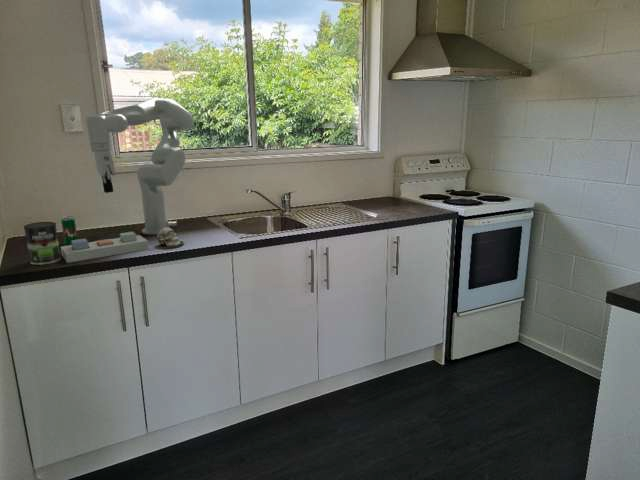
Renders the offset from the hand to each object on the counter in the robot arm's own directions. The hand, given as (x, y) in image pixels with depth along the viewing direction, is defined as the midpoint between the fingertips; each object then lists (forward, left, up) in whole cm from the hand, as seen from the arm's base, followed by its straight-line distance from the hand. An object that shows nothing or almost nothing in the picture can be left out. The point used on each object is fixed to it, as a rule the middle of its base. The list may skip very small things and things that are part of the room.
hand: (108, 192), depth 191 cm
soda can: (+15, -11, -23) cm, 29 cm away
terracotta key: (+6, +10, -22) cm, 25 cm away
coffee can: (+27, +8, -23) cm, 36 cm away
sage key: (-3, +10, -20) cm, 23 cm away
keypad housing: (+6, +10, -23) cm, 25 cm away
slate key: (+15, +10, -20) cm, 27 cm away
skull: (-18, +15, -23) cm, 33 cm away
